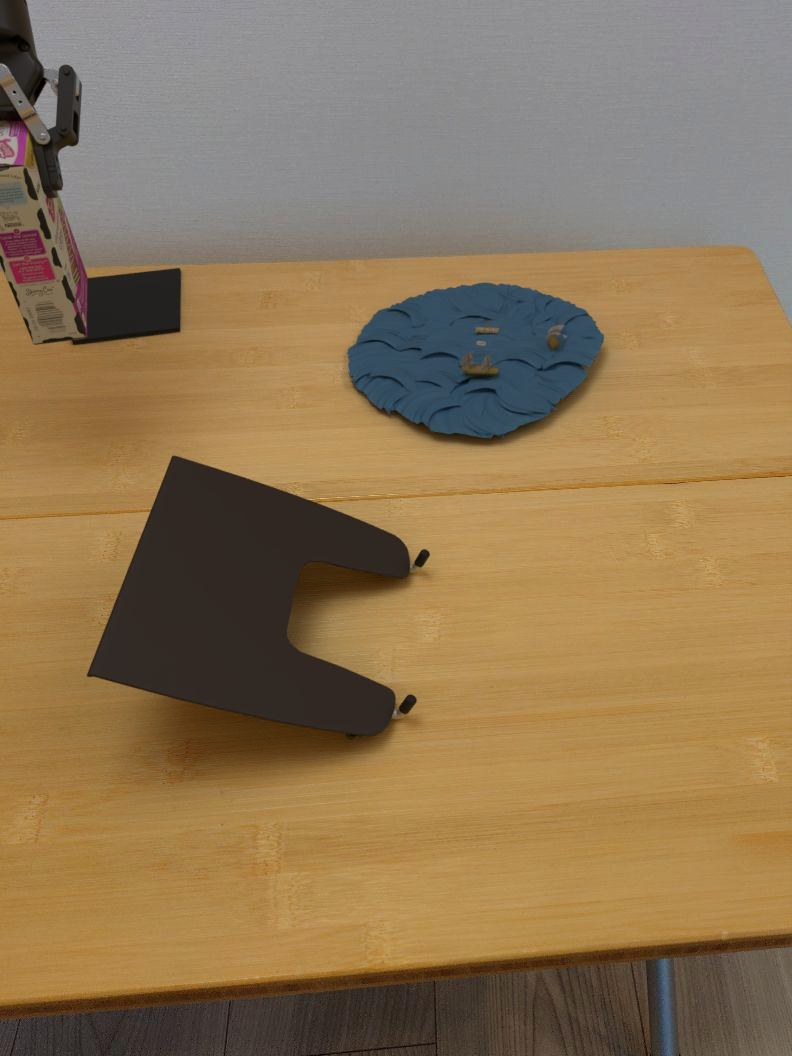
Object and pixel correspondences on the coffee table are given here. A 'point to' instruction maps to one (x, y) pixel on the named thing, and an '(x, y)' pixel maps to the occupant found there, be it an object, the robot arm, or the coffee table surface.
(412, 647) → the coffee table surface
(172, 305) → the mat
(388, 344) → the blue wavy sea disc
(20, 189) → the candy bar box
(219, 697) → the laptop tray
